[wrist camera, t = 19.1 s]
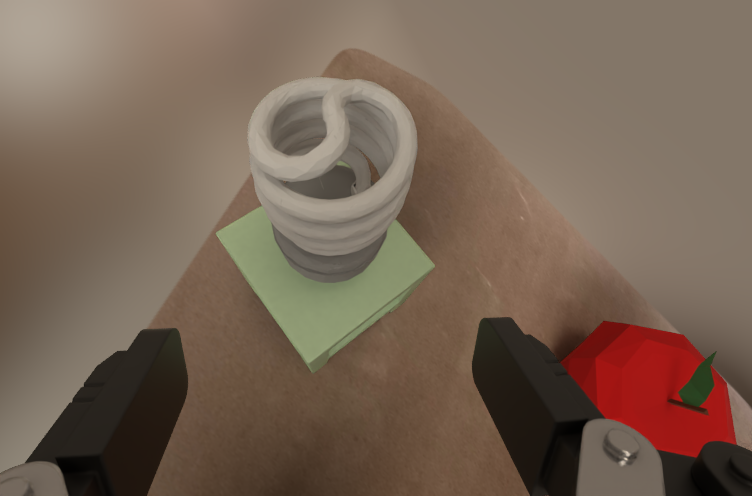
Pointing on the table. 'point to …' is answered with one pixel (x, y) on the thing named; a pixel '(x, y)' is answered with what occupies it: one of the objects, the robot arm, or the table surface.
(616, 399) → the apple
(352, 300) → the green side table
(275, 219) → the light bulb
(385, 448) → the table surface
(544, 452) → the robot arm
